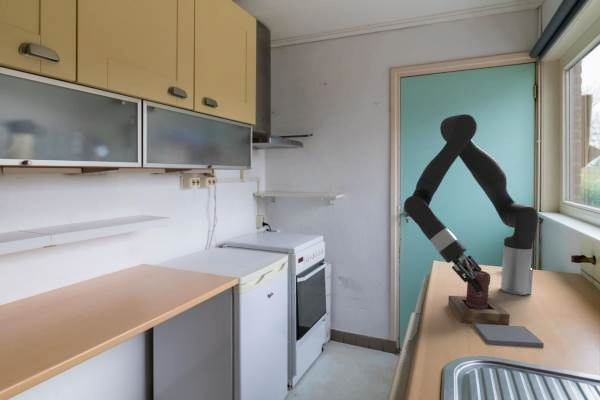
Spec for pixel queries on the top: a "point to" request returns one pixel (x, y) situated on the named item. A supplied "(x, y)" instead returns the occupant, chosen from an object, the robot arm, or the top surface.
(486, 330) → the mat
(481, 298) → the can
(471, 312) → the box
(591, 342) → the top surface
